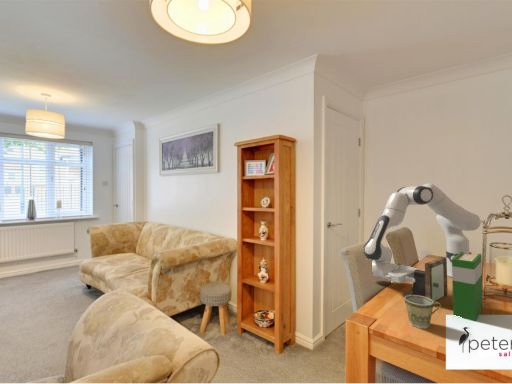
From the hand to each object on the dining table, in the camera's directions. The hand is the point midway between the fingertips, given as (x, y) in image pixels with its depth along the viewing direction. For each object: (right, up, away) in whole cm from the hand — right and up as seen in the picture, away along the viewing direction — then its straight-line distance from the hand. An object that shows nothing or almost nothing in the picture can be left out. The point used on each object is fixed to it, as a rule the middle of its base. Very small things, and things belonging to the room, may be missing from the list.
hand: (419, 278), depth 137 cm
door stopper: (+1, -8, 0) cm, 8 cm away
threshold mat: (+1, -8, -1) cm, 9 cm away
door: (+5, -8, -7) cm, 11 cm away
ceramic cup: (-16, -10, -29) cm, 34 cm away
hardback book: (+10, -9, -19) cm, 23 cm away
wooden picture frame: (+5, -8, -6) cm, 11 cm away
